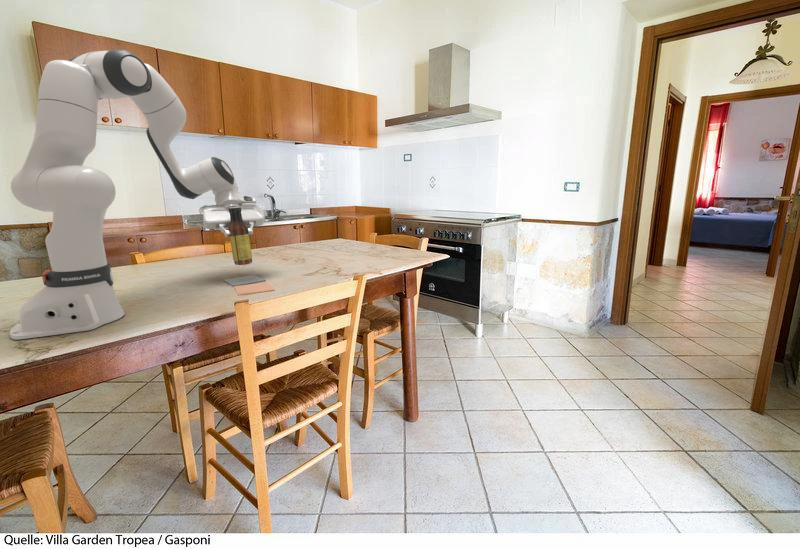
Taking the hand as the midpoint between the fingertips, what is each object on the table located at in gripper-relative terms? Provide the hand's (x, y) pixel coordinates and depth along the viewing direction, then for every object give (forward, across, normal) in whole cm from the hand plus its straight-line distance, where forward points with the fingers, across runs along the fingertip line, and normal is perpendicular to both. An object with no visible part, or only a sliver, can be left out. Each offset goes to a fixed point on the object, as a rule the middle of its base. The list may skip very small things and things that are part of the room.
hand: (239, 234), depth 135 cm
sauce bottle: (+7, 0, +8) cm, 11 cm away
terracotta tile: (+21, 0, +3) cm, 21 cm away
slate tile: (+12, 0, +13) cm, 17 cm away
